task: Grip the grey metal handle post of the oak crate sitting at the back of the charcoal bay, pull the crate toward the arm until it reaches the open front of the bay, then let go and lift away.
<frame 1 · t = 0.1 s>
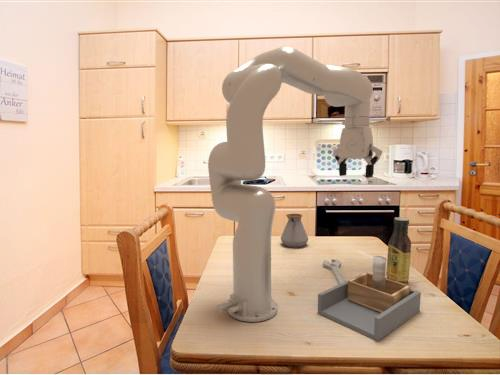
hand: (355, 176, 110), 31 cm above the table, tool pointing down, fingers open, 9 cm apart
sauce bottle: (397, 283, 101), on the table
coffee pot: (293, 249, 136), on the table
bay: (368, 312, 83), on the table
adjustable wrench: (335, 277, 107), on the table
crate: (378, 280, 85), point 7 cm above the table, slide at 0.0 cm
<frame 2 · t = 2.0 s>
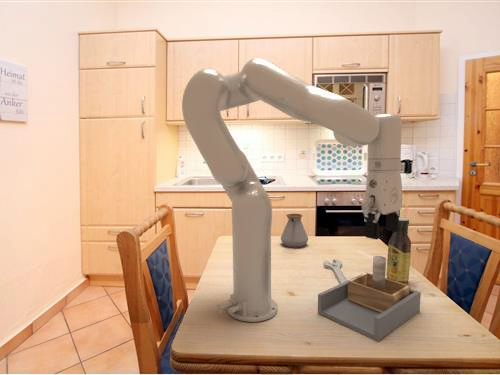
hand: (382, 234, 84), 19 cm above the table, tool pointing down, fingers open, 9 cm apart
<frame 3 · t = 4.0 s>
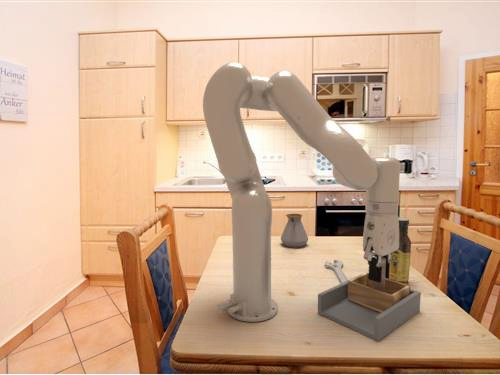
hand: (378, 278, 85), 8 cm above the table, tool pointing down, fingers closed on crate, 3 cm apart
crate: (378, 280, 85), point 7 cm above the table, slide at 0.0 cm, touching gripper
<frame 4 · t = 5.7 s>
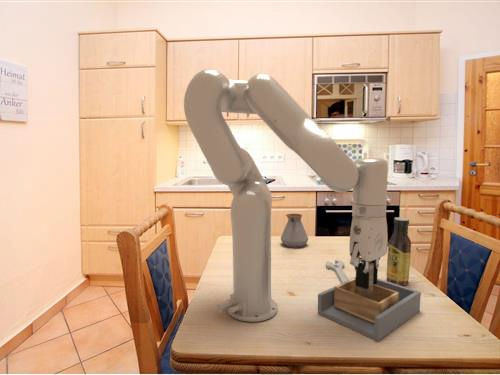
hand: (366, 284, 81), 8 cm above the table, tool pointing down, fingers closed on crate, 3 cm apart
crate: (366, 286, 81), point 7 cm above the table, slide at 5.8 cm, touching gripper
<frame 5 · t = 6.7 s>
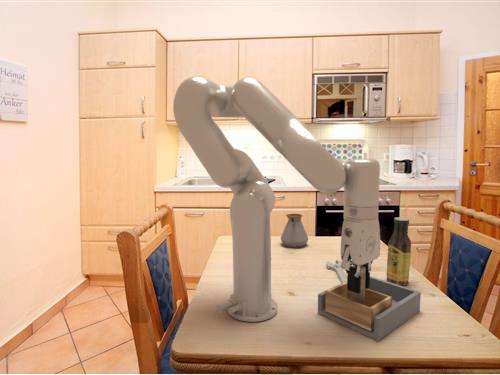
hand: (358, 288, 79), 8 cm above the table, tool pointing down, fingers closed on crate, 3 cm apart
crate: (358, 290, 79), point 7 cm above the table, slide at 9.4 cm, touching gripper
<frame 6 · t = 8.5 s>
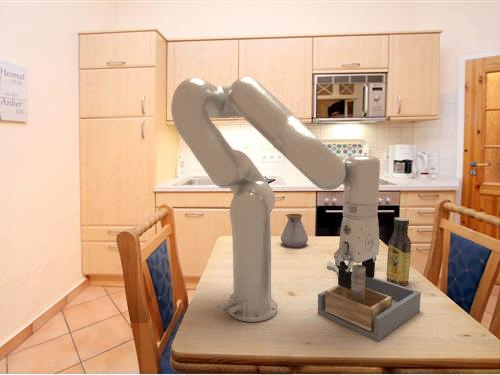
hand: (356, 281, 79), 9 cm above the table, tool pointing down, fingers open, 9 cm apart
crate: (358, 290, 79), point 7 cm above the table, slide at 9.4 cm
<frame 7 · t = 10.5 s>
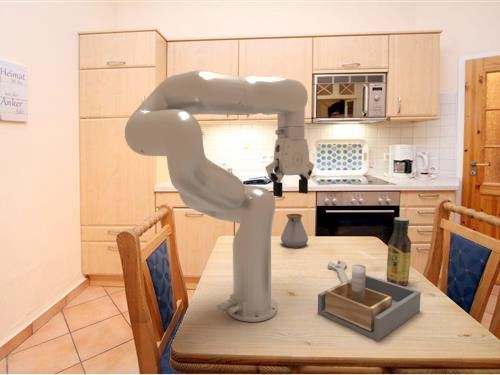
hand: (290, 194, 96), 27 cm above the table, tool pointing down, fingers open, 9 cm apart
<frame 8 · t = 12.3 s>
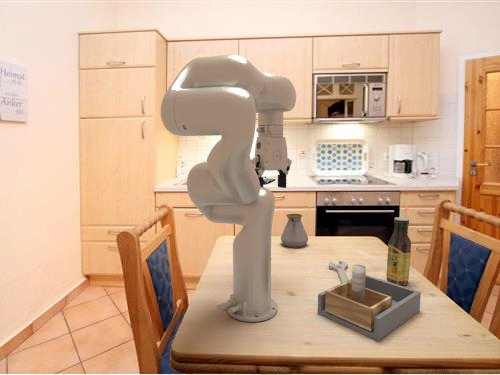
hand: (270, 188, 102), 28 cm above the table, tool pointing down, fingers open, 9 cm apart
at the end: crate slide at 9.4 cm; the gripper is holding nothing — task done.
